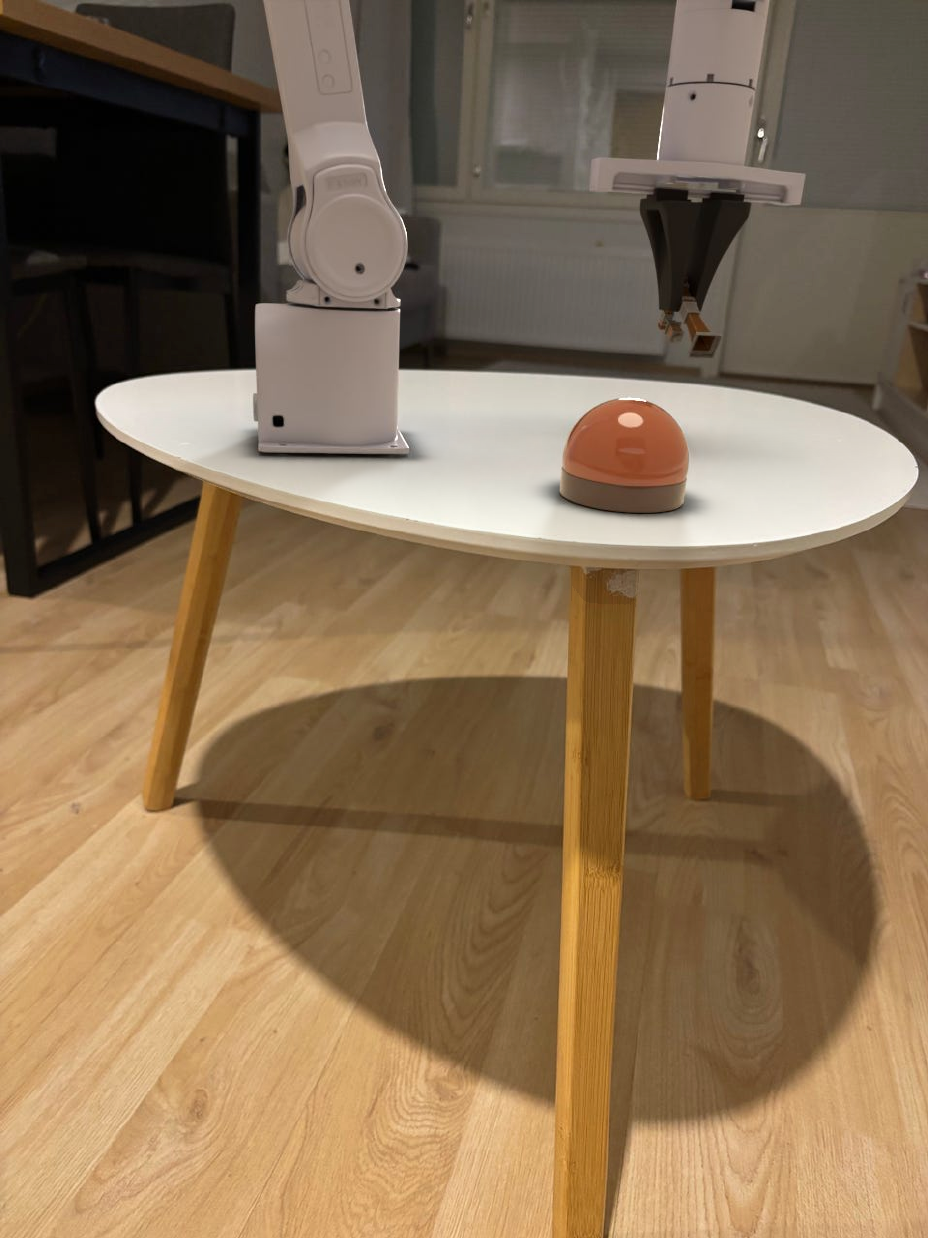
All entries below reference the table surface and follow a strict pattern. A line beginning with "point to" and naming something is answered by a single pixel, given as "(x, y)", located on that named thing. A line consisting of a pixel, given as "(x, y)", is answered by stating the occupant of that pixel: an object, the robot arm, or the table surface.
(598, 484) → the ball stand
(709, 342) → the wooden post with brackets
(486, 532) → the table surface
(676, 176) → the robot arm
